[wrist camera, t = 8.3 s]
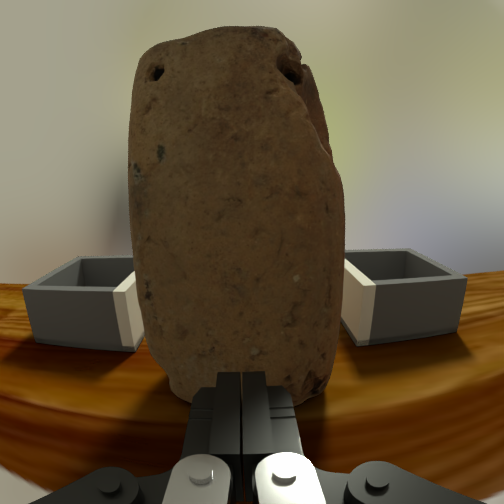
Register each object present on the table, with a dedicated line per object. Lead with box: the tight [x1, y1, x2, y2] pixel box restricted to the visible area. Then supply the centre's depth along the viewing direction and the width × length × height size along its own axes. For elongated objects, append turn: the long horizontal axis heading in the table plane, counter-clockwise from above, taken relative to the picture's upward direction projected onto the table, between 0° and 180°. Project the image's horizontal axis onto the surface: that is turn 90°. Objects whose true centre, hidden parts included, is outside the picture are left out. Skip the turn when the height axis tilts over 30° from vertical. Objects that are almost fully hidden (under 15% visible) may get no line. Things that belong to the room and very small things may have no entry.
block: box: [128, 26, 345, 407], centre depth 17 cm, size 11×8×20 cm
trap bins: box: [22, 249, 467, 352], centre depth 28 cm, size 37×11×5 cm, turn 92°
